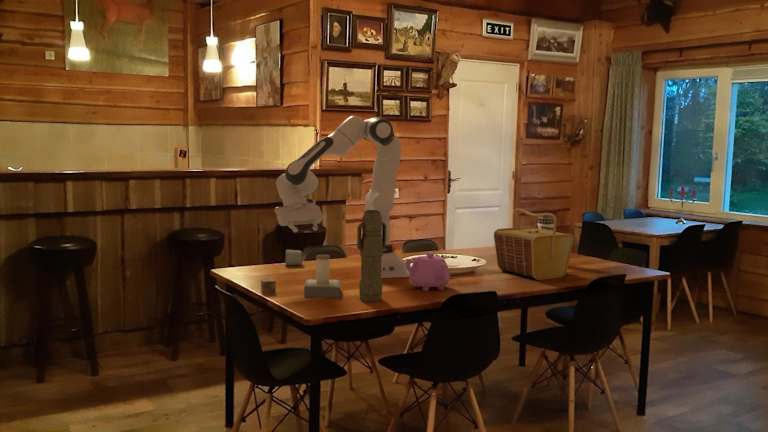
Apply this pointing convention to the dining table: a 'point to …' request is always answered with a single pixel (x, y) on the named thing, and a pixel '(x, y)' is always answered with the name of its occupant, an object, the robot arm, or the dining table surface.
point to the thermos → (371, 255)
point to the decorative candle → (546, 223)
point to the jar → (322, 269)
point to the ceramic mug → (293, 257)
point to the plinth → (322, 289)
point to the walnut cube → (268, 286)
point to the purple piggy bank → (428, 272)
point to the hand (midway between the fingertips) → (306, 230)
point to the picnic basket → (533, 250)
